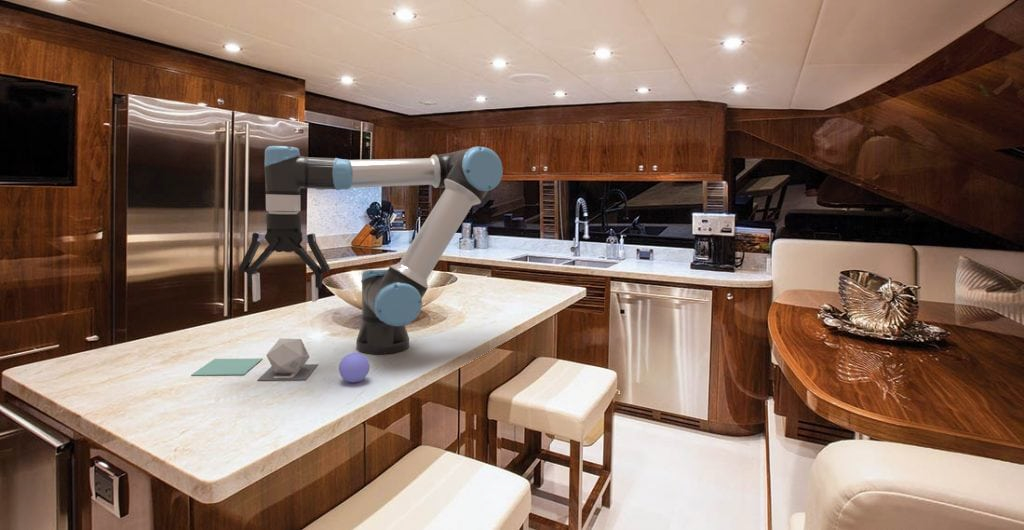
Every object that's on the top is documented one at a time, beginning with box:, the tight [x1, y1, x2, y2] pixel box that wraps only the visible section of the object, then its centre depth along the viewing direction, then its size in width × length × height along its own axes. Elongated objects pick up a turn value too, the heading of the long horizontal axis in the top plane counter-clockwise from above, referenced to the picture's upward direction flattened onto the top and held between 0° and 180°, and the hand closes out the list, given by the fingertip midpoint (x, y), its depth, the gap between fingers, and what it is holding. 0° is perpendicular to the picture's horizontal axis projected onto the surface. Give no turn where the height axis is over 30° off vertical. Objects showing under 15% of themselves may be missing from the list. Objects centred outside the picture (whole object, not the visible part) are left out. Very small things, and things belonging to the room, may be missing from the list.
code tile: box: [256, 363, 318, 382], centre depth 125 cm, size 11×11×1 cm
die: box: [266, 337, 310, 374], centre depth 125 cm, size 8×9×10 cm
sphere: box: [338, 352, 370, 383], centre depth 121 cm, size 7×7×7 cm
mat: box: [190, 357, 263, 377], centre depth 128 cm, size 12×12×1 cm
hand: (286, 300), depth 123 cm, fingers open, 13 cm apart
